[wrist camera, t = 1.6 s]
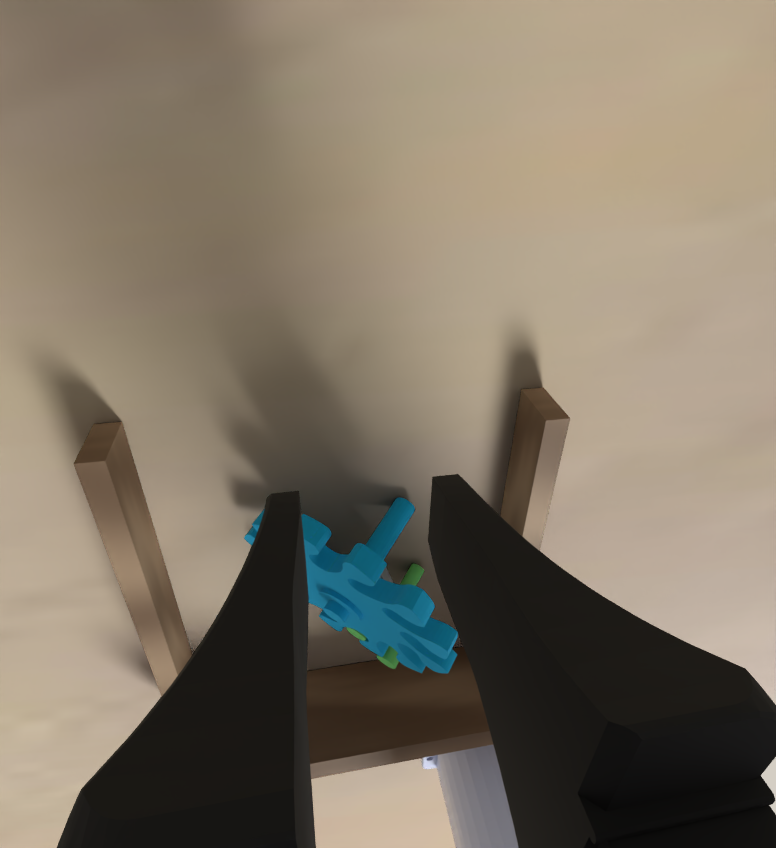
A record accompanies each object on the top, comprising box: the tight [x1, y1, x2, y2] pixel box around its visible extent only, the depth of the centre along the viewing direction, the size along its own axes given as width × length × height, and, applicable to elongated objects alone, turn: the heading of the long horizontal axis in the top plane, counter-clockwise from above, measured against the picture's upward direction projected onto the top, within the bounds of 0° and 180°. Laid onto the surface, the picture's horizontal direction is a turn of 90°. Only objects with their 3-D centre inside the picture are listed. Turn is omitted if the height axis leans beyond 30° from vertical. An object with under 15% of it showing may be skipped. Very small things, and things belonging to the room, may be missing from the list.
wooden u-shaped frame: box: [74, 388, 570, 779], centre depth 25 cm, size 19×18×5 cm
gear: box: [244, 497, 458, 674], centre depth 24 cm, size 11×6×10 cm
